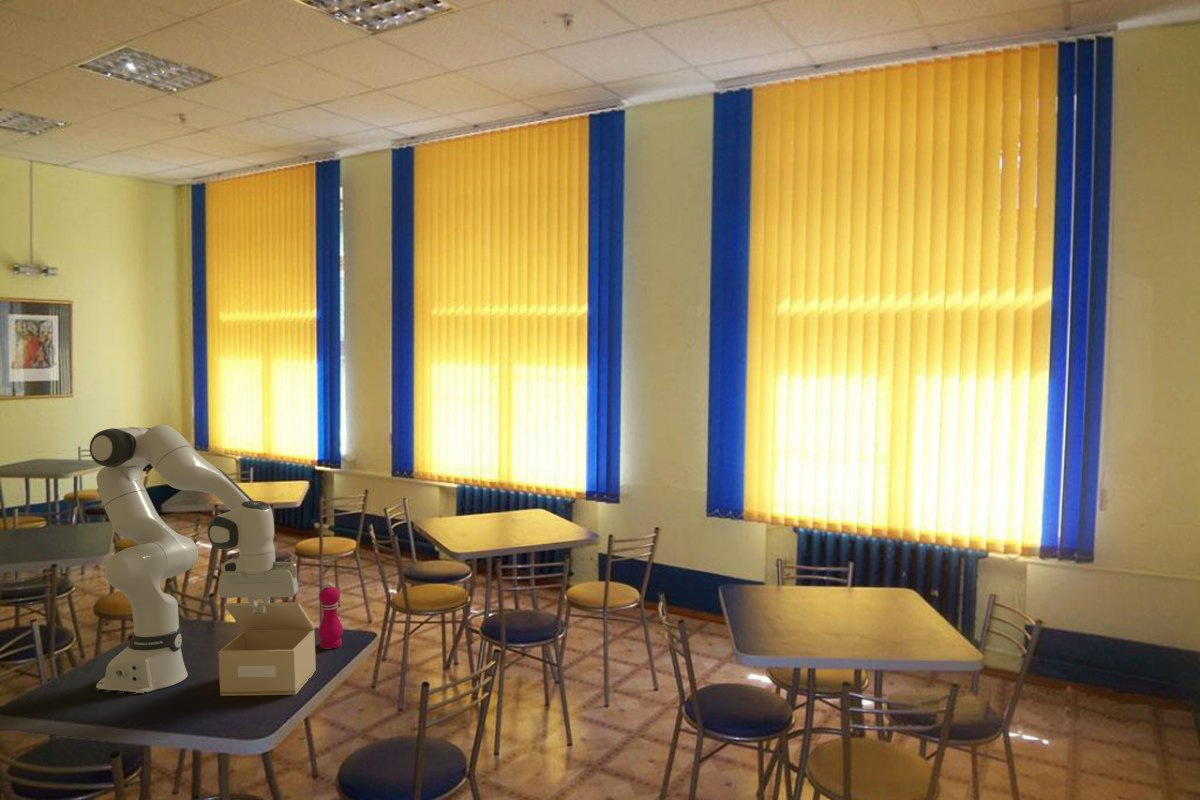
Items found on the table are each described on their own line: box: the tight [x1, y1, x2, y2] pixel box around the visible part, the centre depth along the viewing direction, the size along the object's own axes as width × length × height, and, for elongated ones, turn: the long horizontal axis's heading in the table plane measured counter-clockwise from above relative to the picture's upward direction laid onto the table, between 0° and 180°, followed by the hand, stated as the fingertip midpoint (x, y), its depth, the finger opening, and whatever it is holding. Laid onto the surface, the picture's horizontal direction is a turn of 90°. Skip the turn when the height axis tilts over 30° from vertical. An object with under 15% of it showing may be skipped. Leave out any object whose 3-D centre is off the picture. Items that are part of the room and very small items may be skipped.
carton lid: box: [223, 601, 316, 631], centre depth 231 cm, size 20×16×1 cm
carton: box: [217, 629, 317, 697], centre depth 229 cm, size 20×16×12 cm
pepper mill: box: [318, 581, 344, 649], centre depth 257 cm, size 7×7×20 cm
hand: (259, 612), depth 224 cm, fingers closed, pressing on carton lid
